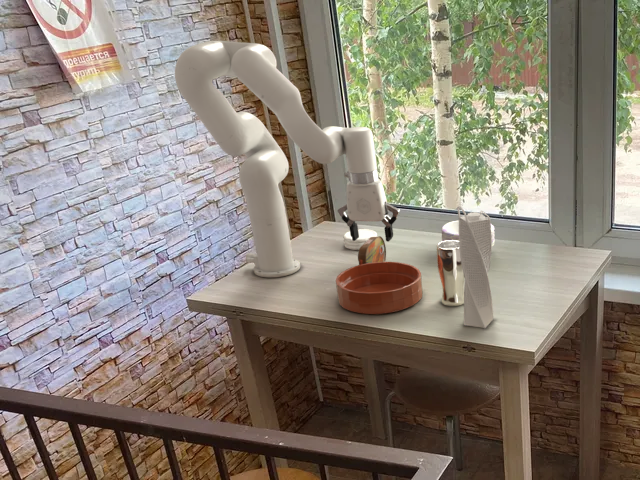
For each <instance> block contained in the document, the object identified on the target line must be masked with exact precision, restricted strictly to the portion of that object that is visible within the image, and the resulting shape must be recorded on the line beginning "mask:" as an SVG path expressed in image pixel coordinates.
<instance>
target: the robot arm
mask: <svg viewBox="0 0 640 480" xmlns="http://www.w3.org/2000/svg"><path fill="white" fill-rule="evenodd" d="M277 63H278V62H277V58H276V56H275V54H274V52H273V51H272V50H271V48H269V47H268V46H266V45H264V44H262V43H256V42H240V41H227V40H210V41H204V42H202V43H197V44H194V45H192V46H190V47H188V48H186V49H185V50H184V51H182V52H181V53H180V54H179V57H178V58H177V61H176V64H175V68H174V79H175V84H176V86H177V89H178V91H179V94H180V95H181V96H182V98H183V99H184V100H185V102H186V103H187V104H188V105H189V107H190V108H191V109H192V111H193V112H194V113H195V114H196V116H197V117H198V119H199V120H200V121H201V123H202V124H203V126H204V127H205V129H206V130H207V131H208V132H209V134H210V136H211V137H212V138H213V139H214V141H215V142H216V144H217V145H218V147H219V148H220V149H221V150H222V151H223V152H224V153H225V154H227V155H228V156H231V157H240V156H243V155H245V157H246V159H245V160H244V161H243V163H242V164H241V165H240V168H239V172H238V179H239V183H240V187H241V190H242V193H243V195H244V198H245V203H246V207H247V211H248V217H249V220H250V227H251V231H252V237H253V242H254V248H255V253H251V252H249V253H246V254H245V263H248V264H254V267H253V273H254V274H255V275H256V276H258V277H261V278H280V277H281V278H282V277H285V276H289V275H293V274H294V273H296V272H298V271H299V270H300V269H301V263H300V261H299V260H297V259H295V258H294V255H293V248H292V247H293V246H292V241H291V236H290V229H289V224H288V218H287V211H286V207H285V202H284V199H283V196H282V193H281V190H280V186H279V184H280V183H281V182H282V181H283V180H284V179H285V178H286V177H287V176H288V173H289V170H290V166H289V161H288V158H287V156H286V154H285V152H284V151H283V150H282V148H281V147H280V146H279V143H278V142H277V141H276V139H275V138H274V137H273V136H272V134H271V132H270V130H268V129H267V127H266V125H264V123H263V121H261V120H260V119H259V118H258V117H257V116H256V115H254V114H253V113H250V112H247V111H238V112H237V111H236V110H235V108H234V107H233V106H232V105H231V103H230V102H229V100H228V99H227V97H226V96H225V95H224V94H223V93H222V92H221V91H220V89H218V88H217V87H216V86H215V85H214V84H213V80H216V79H218V78H220V77H221V78H222V77H236V78H237V80H239V81H240V82H241V83H242V84H243V85H244V86H245V87H246V88H247V89H248V90H249V91H250V92H251V93H253V94H254V95H255V96H256V98H257V99H259V100H260V101H261V102H262V103H263V104H264V106H266V107H267V108H268V109H269V110H270V111H271V112H272V113H273V114H274V115H275V117H276V119H277V120H278V122H279V123H280V125H281V127H282V128H283V130H284V131H285V133H286V134H287V135H288V137H289V138H290V140H291V141H292V142H293V143H294V144H295V145H296V146H297V147H298V148H299V149H300V150H301V151H302V152H304V153H305V155H307V156H308V157H309V158H310V159H312V160H313V161H315V162H317V163H318V164H322V165H328V164H332V163H333V162H334V161H336V160H337V159H339V157H341V156H343V155H345V158H346V163H347V171H345V172H344V173H343V177H344V178H347V179H348V182H347V184H346V204H344V205H343V206H340V207H339V208H338V209H337V213H338V215H339V216H340V218H341V220H342V221H343V222H344V223H345V224H346V226H347V227H348V229H349V231H350V235H351V237H352V240H353V241H355V240H356V239H357V238H359V233H358V229H359V226H358V223H357V222H382V223H383V225H384V226H385V227H384V235H385V237H384V238H385V241H386V243H387V242H390V241H391V240H392V239H393V238H394V230H393V224H394V223H395V222H396V221H397V220H398V218H399V215H400V212H401V210H400V208H397V207H396V206H394V205H392V204H390V203H389V202H388V200H387V196H386V191H385V188H384V185H383V182H382V180H380V179H379V171H378V163H377V155H376V148H375V140H374V135H373V134H374V133H373V130H372V129H370V127H367V126H353V127H343V126H342V127H341V126H336V125H335V126H332V125H331V126H325V127H324V128H323V129H322V128H321V127H320V126H319V125H318V124H316V123H315V121H314V120H312V118H311V117H310V116H309V114H308V112H307V111H306V109H305V107H304V105H303V101H302V96H301V95H302V94H301V91H300V90H299V88H298V87H297V86H296V85H294V84H293V83H292V82H291V81H290V80H289V78H287V77H286V76H285V75H284V74H283V73H282V72H281V71H280V70H279V69H278V68H277V65H278V64H277ZM346 212H347V213H346ZM389 212H391V213H392V216H391V217H390V216H389Z"/></svg>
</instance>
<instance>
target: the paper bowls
mask: <svg viewBox="0 0 640 480" xmlns="http://www.w3.org/2000/svg"><path fill="white" fill-rule="evenodd" d="M440 231H441V242H443V241H448V240H456V241H459V219H458V220H453V221H449V222H447V223H445V224H443V225H442V227H441V230H440ZM491 235H492V247H494V245H495V239H496V238H495V226H494V225H493V224H492V223H491Z"/></svg>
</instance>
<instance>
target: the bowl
mask: <svg viewBox="0 0 640 480" xmlns="http://www.w3.org/2000/svg"><path fill="white" fill-rule="evenodd" d="M335 287H336V294H337V301H338V303H339V306H341V307H342V308H343V309H345V310H347V311H349V312H354V313H358V314H362V315H363V314H364V315H385V314H391V313H396V312H399V311H403V310H406V309H408V308H410V307H412V306H415V304H417V303H419V302H420V300H421V299H422V298H423V293H424V291H423V281H422V272H421V270H420V269H419V268H418V267H416V266H414V265H411V264H408V263H404V262H399V261H385V262H374V263H366V264H362V265H359V264H358V265H355V266H352V267H350V268H346V269H345V270H343V271H341V272H340V273H338V275H337V276H336V278H335Z"/></svg>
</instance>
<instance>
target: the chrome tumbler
mask: <svg viewBox="0 0 640 480" xmlns="http://www.w3.org/2000/svg"><path fill="white" fill-rule="evenodd" d="M436 263H437V264H436V265H437V271H438V275H439V278H440V283H441V287H442V288H441V289H442V292H441V293H442V294H441V304H442V305H444V306H446V307H459V306H462V305H464V285H465V277H464V274H463V269H462V264H461V258H460V249H459V241H456V240H448V241H443V242H442V241H440V242H438V243H436Z"/></svg>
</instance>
